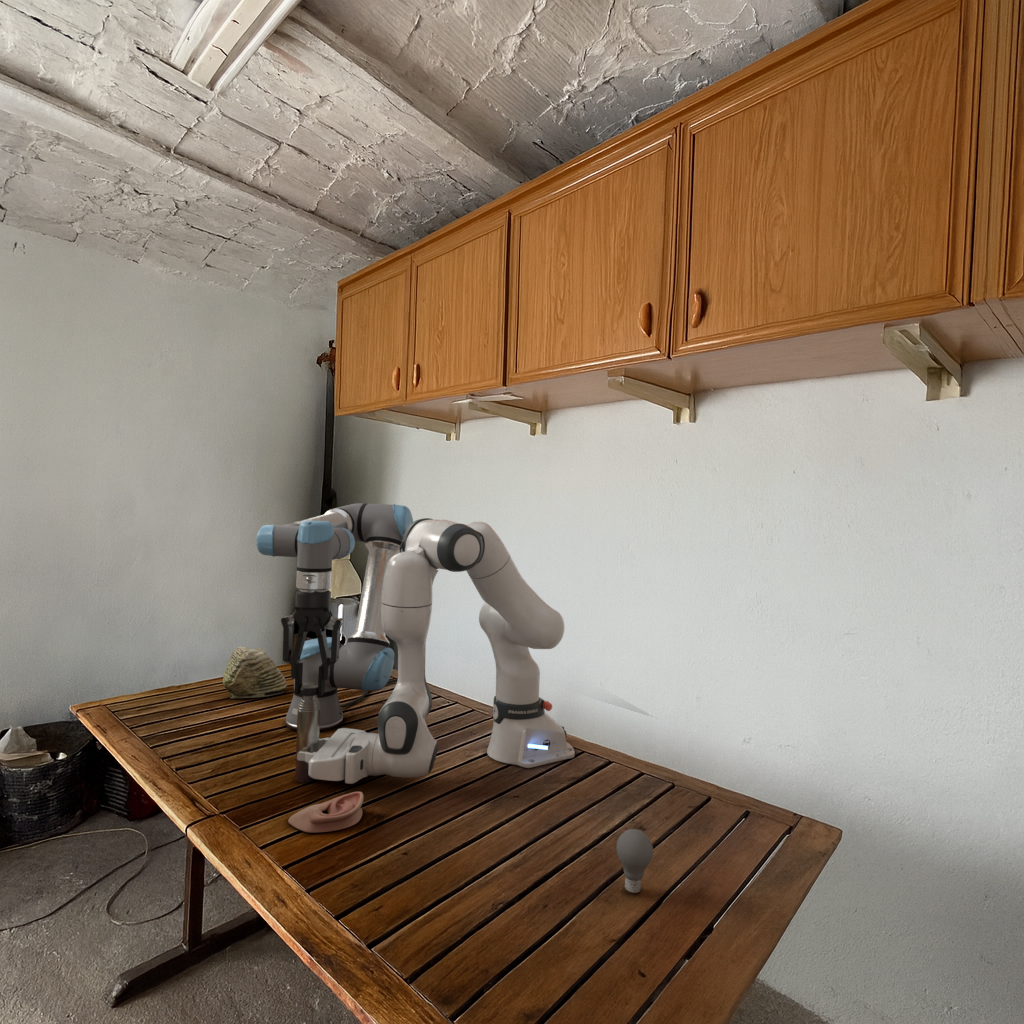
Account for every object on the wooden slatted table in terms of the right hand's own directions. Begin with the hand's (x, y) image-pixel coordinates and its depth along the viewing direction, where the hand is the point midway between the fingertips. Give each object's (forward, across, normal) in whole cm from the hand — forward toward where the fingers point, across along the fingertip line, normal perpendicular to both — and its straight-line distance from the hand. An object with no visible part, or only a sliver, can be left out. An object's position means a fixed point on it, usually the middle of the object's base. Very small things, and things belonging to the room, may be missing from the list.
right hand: (303, 749), depth 142 cm
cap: (-1, 0, -14) cm, 14 cm away
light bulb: (-69, +33, +6) cm, 77 cm away
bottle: (-1, 0, +6) cm, 6 cm away
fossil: (+36, -54, +6) cm, 65 cm away
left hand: (-1, 0, -13) cm, 13 cm away
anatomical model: (-11, +17, +6) cm, 22 cm away
